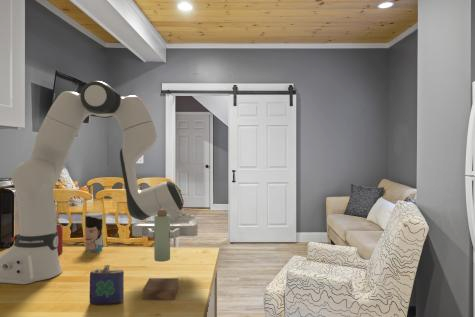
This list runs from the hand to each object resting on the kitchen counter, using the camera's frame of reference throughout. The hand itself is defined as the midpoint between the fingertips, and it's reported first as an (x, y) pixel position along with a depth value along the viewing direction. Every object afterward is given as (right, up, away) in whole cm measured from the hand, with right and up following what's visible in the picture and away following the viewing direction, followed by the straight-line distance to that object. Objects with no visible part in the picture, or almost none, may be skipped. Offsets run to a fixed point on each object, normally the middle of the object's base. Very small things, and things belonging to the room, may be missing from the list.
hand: (161, 234), depth 109 cm
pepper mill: (0, -7, +1) cm, 8 cm away
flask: (-14, -18, -6) cm, 24 cm away
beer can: (-52, -16, +40) cm, 67 cm away
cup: (-38, -16, +46) cm, 62 cm away
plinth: (0, -18, +1) cm, 18 cm away
